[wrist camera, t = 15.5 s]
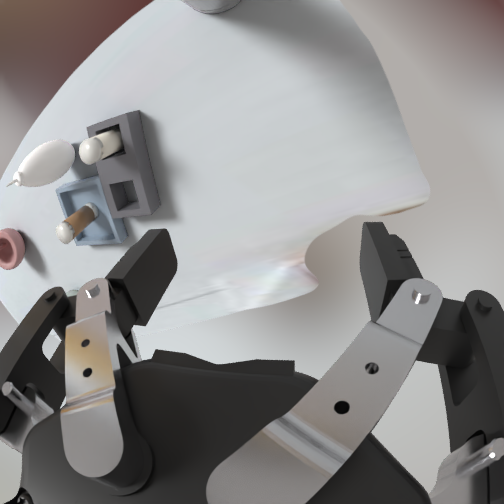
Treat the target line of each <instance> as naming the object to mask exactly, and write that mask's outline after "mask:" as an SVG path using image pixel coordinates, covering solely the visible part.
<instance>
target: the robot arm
mask: <svg viewBox="0 0 504 504" xmlns="http://www.w3.org/2000/svg"><path fill="white" fill-rule="evenodd" d="M181 1H182V2H184V3H185V4H187V5H189V6H190V7H192V8H193V9H195V10H197V11H199V12H202V13H208V14H214V13H220V12H224V11H226V10H228V9H231V8H232V7H234V6H235V5H236V4H237V3H238V2H239V1H240V0H181ZM362 229H363V230H362V240H361V251H360V272H361V276H362V280H363V284H364V288H365V293H366V297H367V301H368V306H369V311H370V315H371V321H370V322H368V323H367V324H366V326H365V327H364V328H363V329H362V331H361V332H360V333H359V334H358V336H357V337H356V338H355V339H354V341H353V342H352V343H351V344H350V346H349V347H348V348H347V349H346V351H345V352H344V353H343V354H342V355H341V356H340V358H339V359H338V360H337V361H336V362H335V363H334V364H333V366H332V367H331V368H330V369H329V370H328V371H327V372H326V373H325V375H324V376H323V377H322V378H321V379H320V380H317V379H315V378H313V377H311V376H308V375H305V374H303V373H299V372H295V363H294V362H295V361H289V360H284V361H283V360H259V359H256V360H250V361H243V362H236V363H228V364H213V363H211V362H208V361H205V360H202V359H199V358H197V357H194V356H191V355H189V354H186V353H179V352H172V351H164V350H158V349H156V350H155V352H154V354H153V357H152V359H148V360H143V361H142V359H141V355H140V352H139V348H138V344H137V340H136V336H135V333H134V331H133V329H132V327H133V325H140V326H146V325H147V323H148V321H149V319H150V317H151V316H152V314H153V312H154V310H155V309H156V307H157V305H158V303H159V301H160V300H161V298H162V296H163V294H164V293H165V291H166V289H167V287H168V286H169V284H170V282H171V281H172V279H173V277H174V275H175V274H176V271H177V258H176V255H175V252H174V248H173V245H172V242H171V238H170V235H169V232H168V231H167V229H151V230H148V231H147V232H146V234H145V235H144V236H143V237H142V238H141V239H140V240H139V241H138V243H136V244H135V245H133V246H132V247H131V248H130V249H129V250H128V251H127V252H126V253H125V256H123V257H122V258H121V259H120V262H118V263H117V264H116V265H115V266H114V267H113V269H112V270H111V271H110V272H109V273H108V275H107V276H106V277H105V278H97V279H93V280H91V281H89V282H87V283H86V284H84V285H83V286H82V287H81V288H80V289H79V291H78V293H77V295H74V296H69V297H67V295H66V293H65V291H64V290H63V288H62V287H54V288H52V289H50V290H48V291H46V292H45V293H44V294H43V295H42V296H41V297H40V298H39V300H38V301H37V302H36V304H35V305H34V306H33V307H32V309H31V310H30V311H29V313H28V314H27V315H26V317H25V318H24V319H23V321H22V322H21V323H20V325H19V326H18V328H17V329H16V330H15V332H14V333H13V335H12V336H11V337H10V339H9V340H8V342H7V343H6V345H5V346H4V348H3V349H2V351H1V353H0V440H1V441H2V442H4V443H5V444H6V445H8V446H9V447H11V448H12V449H15V450H17V451H18V452H20V453H22V474H21V483H20V488H19V491H18V493H17V495H16V496H15V497H14V498H13V499H12V500H10V501H9V502H6V503H4V504H504V311H503V309H502V307H501V305H500V304H499V302H498V301H497V299H496V298H495V297H494V296H492V295H491V294H489V293H487V292H485V291H482V290H474V291H471V292H469V294H467V296H466V299H465V301H464V302H461V301H456V300H451V299H446V298H443V296H442V293H441V290H440V289H439V288H438V287H437V286H436V285H435V284H434V283H432V282H430V281H428V280H425V279H423V277H422V275H421V273H420V271H419V269H418V267H417V265H416V263H415V261H414V259H413V258H412V255H411V253H410V252H409V250H408V248H407V246H406V244H405V242H404V241H403V240H402V239H400V238H399V237H398V236H397V235H389V233H388V231H387V229H386V227H385V226H384V224H383V222H364V224H363V228H362ZM52 328H53V329H54V330H55V332H56V333H57V335H58V336H59V337H60V339H61V340H62V341H61V343H60V344H59V346H58V348H57V349H56V351H55V353H54V354H53V356H52V358H51V359H50V361H49V360H48V359H47V358H46V357H45V355H44V354H43V351H42V345H43V342H44V340H45V339H46V337H47V336H48V334H49V333H50V331H51V330H52ZM416 360H417V361H422V362H427V363H433V364H438V368H439V373H440V378H441V383H442V388H443V394H444V400H445V406H446V411H447V412H446V413H447V420H448V428H449V439H450V451H451V454H449V455H448V456H447V457H446V458H445V459H444V461H443V462H442V463H441V465H440V467H439V470H438V476H437V481H436V484H435V486H434V488H433V490H432V491H431V493H430V494H429V495H428V493H427V491H426V490H425V489H424V487H423V486H422V485H421V484H420V483H419V482H418V481H417V480H416V479H415V478H414V477H413V476H412V475H411V474H410V473H409V472H408V471H407V470H406V469H405V468H404V467H403V466H402V465H401V464H400V463H399V462H398V461H397V460H396V459H395V458H394V457H393V455H392V454H391V453H390V452H388V450H387V449H386V448H385V447H384V446H383V445H382V444H381V443H380V442H379V441H378V440H377V439H376V438H375V436H374V435H373V434H372V433H371V431H372V430H373V429H374V427H375V426H376V425H377V423H378V422H379V420H380V419H381V417H382V416H383V414H384V413H385V411H386V410H387V408H388V407H389V405H390V404H391V402H392V400H393V399H394V397H395V396H396V394H397V392H398V391H399V389H400V387H401V386H402V384H403V382H404V381H405V379H406V377H407V375H408V373H409V372H410V370H411V368H412V366H413V365H414V363H415V361H416ZM65 396H66V404H65V405H64V406H63V407H62V408H61V409H60V407H61V405H62V402H63V400H64V398H65Z"/></svg>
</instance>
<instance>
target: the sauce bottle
mask: <svg viewBox="0 0 504 504" xmlns="http://www.w3.org/2000/svg"><path fill="white" fill-rule="evenodd" d="M74 160H75V150H74V148H73V146H72V145H71V144H70V143H69V142H67V141H65V140H51V141H48V142H46V143H44V144H42V145H40V146H38V147H37V148H36V149H34V150H33V151H32V152H31V153H30V154H29V155H28V156H27V157H26V158H25V159H24V161H23V162H22V164H21V165H20V167H19V169H18V171H17V172H16V173H15V174H14V180H13V181H12V182H10V183H9V184H8V185H7V186H9V185H11V184H13V183H16V185H17V186H21V185H23V186H26V187H38V186H43V185H47V184H50V183H52V182H54V181H56V180H57V179H59V178H61V177H62V176H63V175H64V174H65V173H66V172H67V171H68V170H69V169H70V167H71V166H72V164H73V162H74Z"/></svg>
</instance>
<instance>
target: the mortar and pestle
mask: <svg viewBox="0 0 504 504" xmlns="http://www.w3.org/2000/svg"><path fill="white" fill-rule="evenodd" d="M24 254H25V244H24V240H23V238H22V236H21V235H20V234H19V233H18V232H17V231H16V230H14V229H10V228H7V229H3V230H1V231H0V267H2V268H3V269H6V270H10V269H14V268H16V267H17V266H18V265H19V264H20V263H21V262H22V260H23V257H24Z"/></svg>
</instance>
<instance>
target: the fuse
mask: <svg viewBox="0 0 504 504" xmlns="http://www.w3.org/2000/svg"><path fill="white" fill-rule="evenodd" d="M123 148H124V144H123V139H122V135H121V130H120V127H119V128H116V129H113V130H110V131H107V132H105V133H102V134H99V135H97V136H94V137H91V138H89V139H86V140H84V141H83V142H82V143H81V144H80V147H79V155H80V158H81V160H82V161H83V162H84V163H86V164H89V165H90V164H93V163H95V162H97V161H99V160H101V159H103V158H105V157H107V156H109V155H111V154H113V153H115V152H117V151H119V150H121V149H123Z"/></svg>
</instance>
